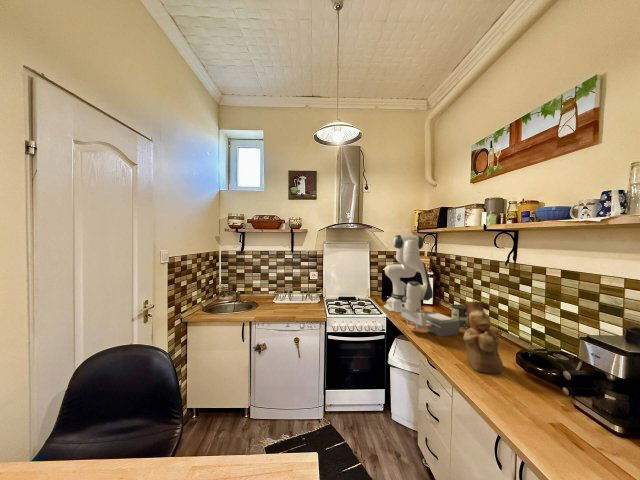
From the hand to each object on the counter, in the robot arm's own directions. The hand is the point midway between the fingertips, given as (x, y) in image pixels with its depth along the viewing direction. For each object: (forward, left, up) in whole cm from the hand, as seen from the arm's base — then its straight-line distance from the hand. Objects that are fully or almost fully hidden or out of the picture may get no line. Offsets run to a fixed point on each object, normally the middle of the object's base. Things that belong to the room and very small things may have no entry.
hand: (412, 328), depth 161 cm
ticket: (0, +8, 0) cm, 8 cm away
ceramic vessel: (+41, +6, -4) cm, 42 cm away
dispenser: (0, +21, -4) cm, 22 cm away
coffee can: (-1, +41, -4) cm, 42 cm away
